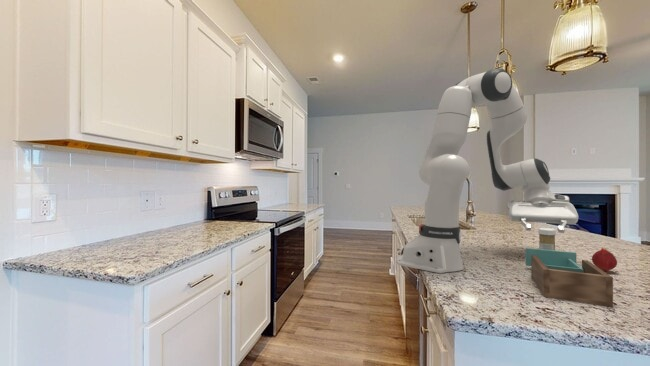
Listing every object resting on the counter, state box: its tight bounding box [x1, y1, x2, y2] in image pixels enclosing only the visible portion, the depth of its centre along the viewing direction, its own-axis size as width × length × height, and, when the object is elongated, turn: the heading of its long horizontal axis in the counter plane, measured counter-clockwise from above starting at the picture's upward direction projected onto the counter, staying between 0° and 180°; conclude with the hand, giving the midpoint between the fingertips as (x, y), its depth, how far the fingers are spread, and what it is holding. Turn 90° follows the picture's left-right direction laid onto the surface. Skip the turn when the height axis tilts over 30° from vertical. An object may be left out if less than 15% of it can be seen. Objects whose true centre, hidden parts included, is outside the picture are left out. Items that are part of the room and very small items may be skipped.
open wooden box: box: [531, 255, 614, 308], centre depth 75 cm, size 13×16×7 cm
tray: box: [525, 247, 584, 273], centre depth 85 cm, size 13×14×6 cm
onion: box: [591, 246, 618, 273], centre depth 90 cm, size 6×6×8 cm
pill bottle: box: [538, 227, 557, 250], centre depth 95 cm, size 5×5×14 cm
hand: (544, 230), depth 98 cm, fingers open, 8 cm apart
